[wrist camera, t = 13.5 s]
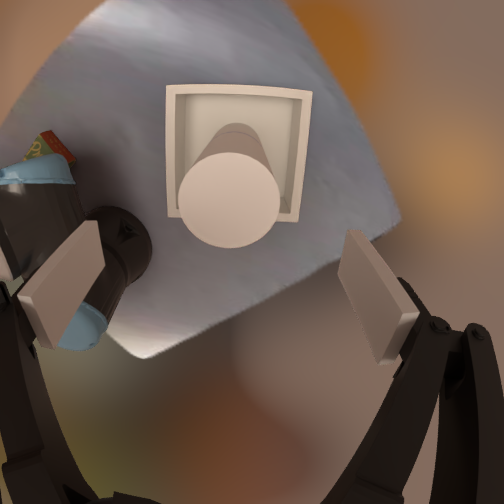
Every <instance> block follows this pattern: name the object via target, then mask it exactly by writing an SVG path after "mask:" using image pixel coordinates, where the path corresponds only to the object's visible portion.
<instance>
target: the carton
mask: <svg viewBox="0 0 504 504" xmlns="http://www.w3.org/2000/svg"><path fill="white" fill-rule="evenodd" d="M53 153H57V154H60V155H62V156H64V157H65V159H66V160H67V163H68V166H69V169H70V168H71V166H72V165H73V164H74V163H75V162H76V161H75V160H76V159H75V157H74V156H73V155H72V154H71V153H70V152H69V151H68V149H67V148H66V147H65V146H64V145H63V144H62V143H61V142H60V140H59V139H58V138H57V137H56V136H55V134H54V133H53V132H52V131H51V130H50V131H45V132H42V133H40V134H39V135H38V137H37V138H36V140H35V141H34V143H33V144H32V146H31V147H30V149H29V151H28V152H27V154H26V156H25V157H24V159H23V161H25V160H29V159H32V158H36V157H39V156H43V155H48V154H53Z"/></svg>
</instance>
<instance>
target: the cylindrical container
mask: <svg viewBox="0 0 504 504" xmlns="http://www.w3.org/2000/svg"><path fill="white" fill-rule="evenodd" d="M178 205H179V211H180V214H181V217H182V219H183V222H184V223H185V225H186V226H187V228H188V229H189V230H190V231H191V232H192V233H193V234H194V235H195V236H196V237H197V238H199V239H200V240H202V241H203V242H206V243H208V244H210V245H213V246H217V247H221V248H238V247H242V246H246V245H249V244H251V243H253V242H255V241H257V240H259V239H260V238H261V237H263V236H264V235H265V234H266V233H267V232H268V231H269V230H270V229H271V227H272V226H273V224H274V222H275V221H276V218H277V216H278V213H279V208H280V193H279V189H278V185H277V183H276V180H275V177H274V175H273V172H272V170H271V167H270V165H269V162H268V159H267V157H266V154H265V152H264V149H263V147H262V144H261V142H260V139H259V137H258V135H257V133H256V132H255V131H254V129H252V128H251V127H250V126H248V125H246V124H243V123H230V124H227V125H225V126H223V127H222V128H220V129H219V130H218V132H217V133H216V134H215V135H214V137H213V138H212V139H211V141H210V142H209V143H208V145H207V146H206V147H205V149H204V150H203V151H202V153H201V154H200V155H199V157H198V158H197V160H196V161H195V162H194V164H193V165H192V167H191V168H190V169H189V171H188V172H187V174H186V175H185V177H184V179H183V181H182V183H181V185H180V189H179V194H178Z"/></svg>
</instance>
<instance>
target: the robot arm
mask: <svg viewBox="0 0 504 504" xmlns="http://www.w3.org/2000/svg"><path fill="white" fill-rule="evenodd" d="M75 185H76V182H75V181H74V180H73V178H72V175H71V172H70V169H69V166H68V163H67V160H66V159H65V157H64V156H62V155H60V154H57V153H53V154H48V155H43V156H39V157H36V158H32V159H29V160H25V161H22V162H19V163H16V164H13V165H10V166H7V167H6V168H2V169H0V279H3V280H6V281H10V282H11V281H13V280H15V279H16V278H17V277H19V276H20V275H21V276H22V278H23V280H24V283H22V285H21V286H20V287H19V288H18V289H17V291H16V292H15V293H14V294H13V295H12V297H11V296H10V294H9V292H8V289H7V287H6V284H5V283H4V282H3V281H0V432H1V437H2V441H3V444H4V448H5V452H6V456H7V462H5V463H3V464H2V472H3V477H4V480H5V483H6V486H7V489H8V492H9V494H10V497H11V500H12V502H13V504H161V503H158V502H156V501H153V500H151V499H146V498H141V497H136V496H132V495H127V494H123V493H119V492H114V494H113V497H109V498H101V499H99V498H98V496H97V495H96V494H95V492H94V491H93V490H92V488H91V487H90V486H89V485H88V484H87V482H86V481H85V479H84V478H83V476H82V474H81V472H80V470H79V468H78V466H77V465H76V462H75V460H74V458H73V456H72V454H71V451H70V449H69V447H68V445H67V443H66V440H65V438H64V435H63V433H62V430H61V428H60V425H59V423H58V420H57V418H56V415H55V412H54V410H53V407H52V404H51V401H50V398H49V395H48V392H47V389H46V385H45V382H44V379H43V375H42V372H41V368H40V365H39V361H38V357H37V353H36V349H35V347H34V345H33V341H34V339H35V338H36V337H37V339H38V341H39V343H40V345H41V347H45V348H49V349H53V350H55V348H56V346H59V347H61V348H64V349H68V350H73V351H85V350H89V349H91V348H93V347H94V346H96V345H97V343H98V342H99V340H100V338H101V337H102V335H103V333H104V332H105V331H106V330H107V328H108V325H109V322H110V320H111V318H112V316H113V313H114V311H115V309H116V307H117V305H118V302H119V300H120V298H121V296H122V294H123V292H124V290H125V288H126V287H127V286H129V285H130V284H131V283H133V282H134V281H136V280H137V279H138V278H140V277H141V276H142V274H143V273H144V272H145V270H146V268H147V266H148V264H149V262H150V259H151V254H152V246H151V241H150V237H149V235H148V233H147V231H146V229H145V227H144V226H143V225H142V223H141V222H140V221H139V220H138V219H137V218H136V217H135V216H133V215H132V214H131V213H129V212H127V211H125V210H123V209H121V208H117V207H111V206H105V207H100V208H97V209H95V210H93V211H91V212H90V213H89V214H88V215H87V216H86V217H85V216H84V213H83V209H82V206H81V203H80V200H79V197H78V193H77V190H76V186H75ZM338 276H339V279H340V281H341V283H342V285H343V287H344V289H345V291H346V293H347V296H348V298H349V300H350V302H351V304H352V307H353V309H354V311H355V313H356V315H357V318H358V320H359V322H360V324H361V327H362V329H363V331H364V334H365V336H366V338H367V341H368V343H369V345H370V348H371V350H372V353H373V355H374V357H375V360H376V362H377V365H384V364H392V363H394V362H395V360H396V358H397V356H398V354H400V356H401V358H402V360H403V361H402V362H401V364H400V366H399V367H398V369H397V371H396V372H395V374H394V376H393V378H394V380H393V382H392V384H391V386H390V388H389V390H388V393H387V395H386V397H385V399H384V401H383V403H382V405H381V407H380V409H379V411H378V413H377V415H376V417H375V419H374V420H373V422H372V424H371V426H370V428H369V430H368V432H367V433H366V435H365V437H364V439H363V441H362V442H361V444H360V446H359V447H358V449H357V451H356V452H355V454H354V456H353V457H352V459H351V461H350V462H349V464H348V465H347V467H346V469H345V470H344V471H343V473H342V474H341V476H340V478H339V479H338V481H337V482H336V483H335V485H334V486H333V488H332V489H331V491H330V492H329V493H328V495H327V496H326V498H325V499H324V500H323V501H322V502H321V503H320V504H404V497H403V496H402V491H403V488H404V486H405V484H406V482H407V480H408V478H409V476H410V473H411V471H412V469H413V466H414V464H415V462H416V459H417V457H418V454H419V452H420V449H421V446H422V444H423V441H424V439H425V436H426V433H427V430H428V427H429V424H430V421H431V418H432V415H433V412H434V408H435V405H436V402H437V398H438V395H439V425H438V442H437V452H436V462H435V470H434V478H433V484H432V491H431V497H430V502H429V504H504V397H503V390H502V385H501V379H500V374H499V369H498V365H497V360H496V356H495V352H494V348H493V344H492V340H491V336H490V334H489V332H488V331H487V330H486V329H485V328H484V327H483V326H482V325H479V324H476V323H470V324H468V326H467V327H466V329H465V330H464V332H461V331H455V330H452V329H451V327H450V325H449V324H448V323H447V322H446V321H445V320H443V319H442V318H440V317H436V316H431V315H430V313H429V311H428V310H427V309H426V307H425V306H424V304H423V303H422V301H421V300H420V299H419V298H418V296H417V294H416V293H415V292H414V290H413V289H412V287H411V286H410V285H409V283H407V282H406V281H405V280H403V279H402V278H400V277H398V278H396V277H395V275H394V274H393V273H392V271H391V270H390V268H389V267H388V266H387V264H386V263H385V262H384V260H383V259H382V258H381V256H380V255H379V253H378V252H377V251H376V249H375V248H374V247H373V246H372V244H371V243H370V242H369V240H368V239H367V238H366V236H365V235H364V234H363V233H362V231H361V230H347V235H346V239H345V244H344V248H343V253H342V257H341V261H340V266H339V270H338ZM0 504H2V498H1V491H0Z"/></svg>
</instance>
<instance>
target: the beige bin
mask: <svg viewBox="0 0 504 504" xmlns="http://www.w3.org/2000/svg"><path fill="white" fill-rule="evenodd" d="M312 93H313V91H306V90H297V89H289V88H279V87H267V86H252V85H229V84H187V85H166V185H167V207H168V217H179V218H182V217H181V214H180V211H179V205H178V194H179V189H180V185H181V183H182V181H183V179H184V177H185V175H186V174H187V172H188V171H189V169H190V168H191V167H192V165H193V164H194V162H195V161H196V160H197V158H198V157H199V155H200V154H201V153H202V151H203V150H204V149H205V147H206V146H207V145H208V143H209V142H210V141H211V139H212V138H213V137H214V135H215V134H216V133H217V132H218V130H219V129H220V128H222V127H223V126H225V125H227V124H230V123H243V124H246V125H248V126H250V127H251V128H252V129H254V131H255V132H256V133H257V135H258V137H259V139H260V142H261V144H262V147H263V149H264V152H265V154H266V157H267V159H268V162H269V165H270V167H271V170H272V172H273V175H274V177H275V180H276V183H277V185H278V189H279V193H280V208H279V213H278V216H277V218H276V221H282V222H298V218H299V210H300V202H301V195H302V187H303V178H304V170H305V162H306V153H307V144H308V134H309V124H310V114H311V104H312Z"/></svg>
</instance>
